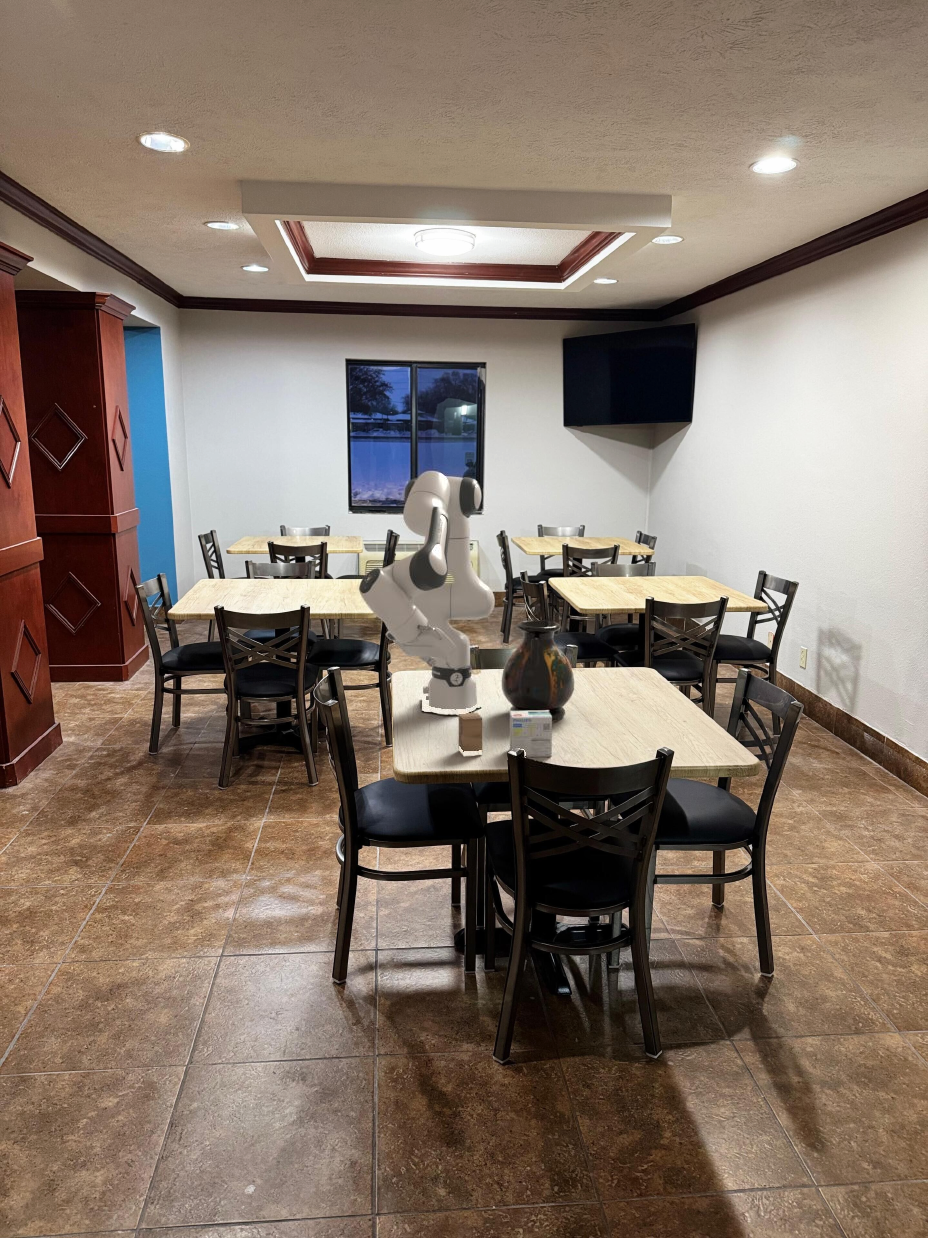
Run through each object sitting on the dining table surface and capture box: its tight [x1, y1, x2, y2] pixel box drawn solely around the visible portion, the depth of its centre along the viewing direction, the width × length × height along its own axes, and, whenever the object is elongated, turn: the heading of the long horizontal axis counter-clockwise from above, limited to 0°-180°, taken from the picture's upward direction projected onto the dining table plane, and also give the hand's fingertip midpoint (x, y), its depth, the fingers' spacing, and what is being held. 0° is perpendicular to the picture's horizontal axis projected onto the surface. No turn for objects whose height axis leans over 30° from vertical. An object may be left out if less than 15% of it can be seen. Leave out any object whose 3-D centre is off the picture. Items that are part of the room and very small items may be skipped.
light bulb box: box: [509, 710, 553, 758], centre depth 218 cm, size 11×7×11 cm, turn 92°
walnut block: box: [458, 712, 483, 752], centre depth 218 cm, size 5×5×10 cm
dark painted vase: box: [501, 619, 575, 722], centre depth 249 cm, size 22×22×28 cm
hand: (443, 665), depth 211 cm, fingers open, 8 cm apart
